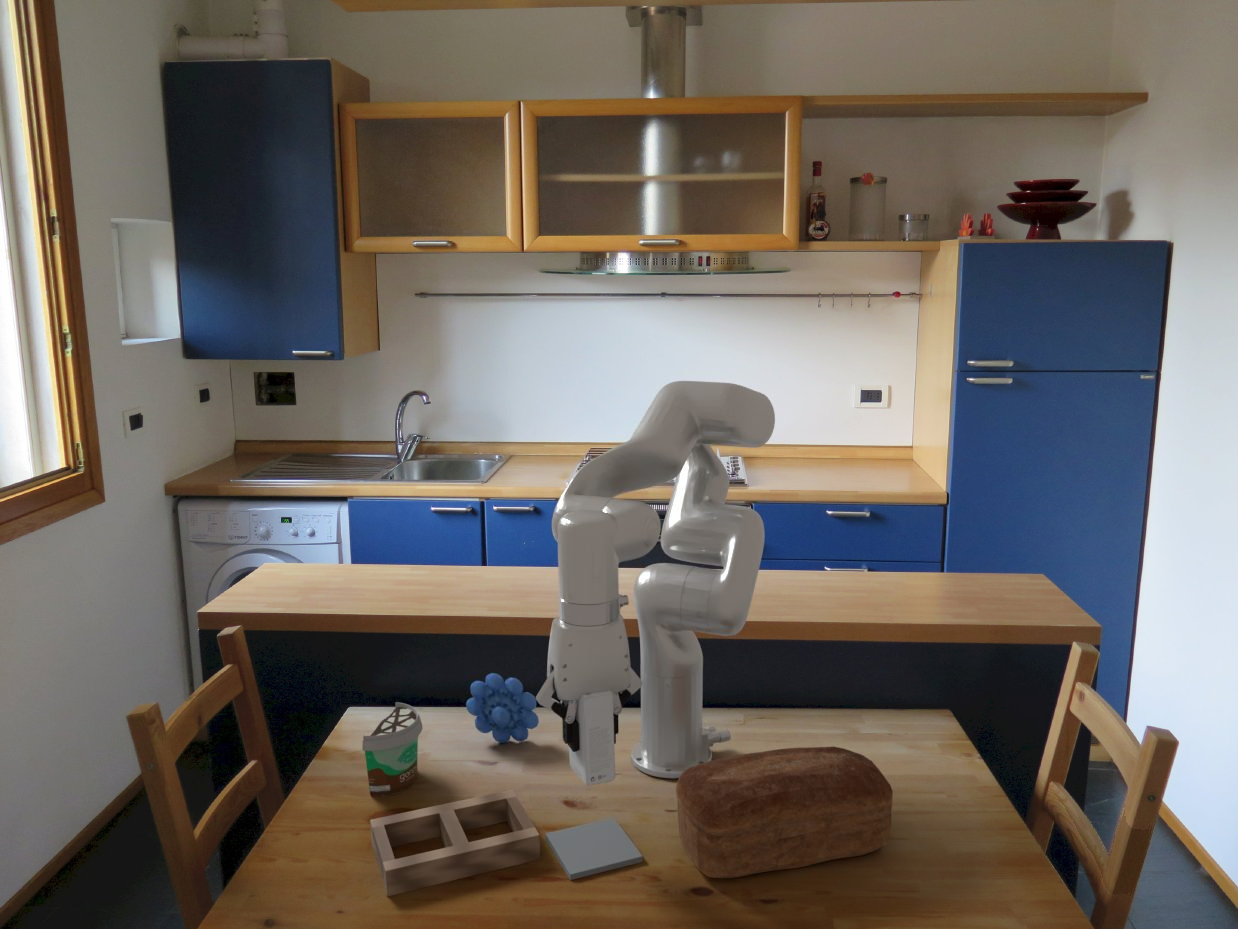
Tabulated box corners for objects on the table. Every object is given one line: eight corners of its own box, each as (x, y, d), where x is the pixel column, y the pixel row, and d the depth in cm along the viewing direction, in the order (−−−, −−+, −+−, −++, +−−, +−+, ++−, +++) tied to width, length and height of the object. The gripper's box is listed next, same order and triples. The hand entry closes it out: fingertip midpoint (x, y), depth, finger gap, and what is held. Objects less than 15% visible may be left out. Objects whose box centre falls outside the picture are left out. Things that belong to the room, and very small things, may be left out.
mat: (613, 822, 139) (613, 817, 139) (642, 861, 130) (642, 856, 130) (545, 838, 135) (545, 833, 135) (570, 880, 126) (570, 874, 126)
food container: (405, 805, 144) (401, 741, 142) (365, 801, 145) (361, 737, 143) (437, 763, 156) (434, 703, 154) (400, 760, 157) (396, 700, 155)
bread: (665, 835, 136) (665, 752, 134) (852, 804, 143) (855, 725, 141) (699, 896, 123) (700, 805, 121) (903, 859, 130) (908, 773, 128)
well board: (513, 812, 142) (512, 789, 141) (540, 859, 131) (539, 835, 130) (371, 843, 135) (369, 820, 134) (387, 896, 123) (385, 871, 123)
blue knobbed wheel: (463, 755, 158) (460, 685, 156) (470, 735, 165) (467, 667, 162) (537, 755, 158) (535, 684, 156) (540, 735, 165) (538, 667, 162)
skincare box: (616, 780, 128) (616, 692, 126) (584, 788, 126) (584, 698, 124) (597, 759, 134) (596, 674, 131) (566, 766, 132) (565, 680, 130)
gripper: (638, 591, 132) (639, 720, 136) (515, 609, 126) (519, 743, 130) (662, 609, 126) (662, 744, 129) (533, 628, 119) (537, 769, 123)
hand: (590, 742), depth 129 cm, fingers closed on skincare box, 4 cm apart
